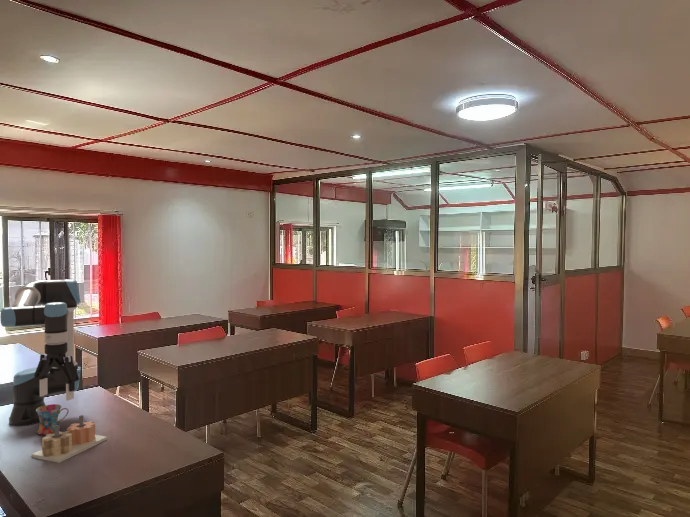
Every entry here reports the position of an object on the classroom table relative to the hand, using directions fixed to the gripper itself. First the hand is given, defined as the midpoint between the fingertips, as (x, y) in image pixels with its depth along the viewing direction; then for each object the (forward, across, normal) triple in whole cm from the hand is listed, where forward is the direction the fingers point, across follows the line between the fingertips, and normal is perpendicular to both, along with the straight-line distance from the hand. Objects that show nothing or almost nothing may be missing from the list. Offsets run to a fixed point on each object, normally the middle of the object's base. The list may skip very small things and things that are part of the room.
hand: (56, 397), depth 178 cm
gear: (+21, 0, 0) cm, 21 cm away
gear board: (+22, 0, +6) cm, 23 cm away
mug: (+23, -22, +16) cm, 35 cm away
